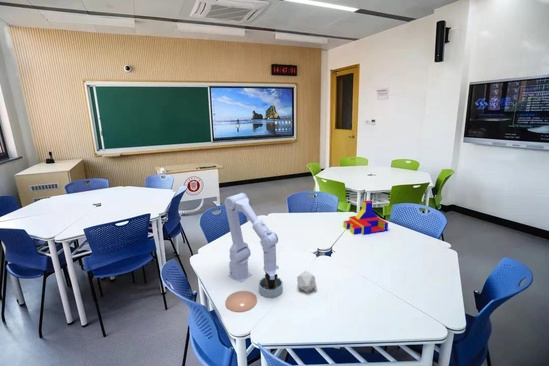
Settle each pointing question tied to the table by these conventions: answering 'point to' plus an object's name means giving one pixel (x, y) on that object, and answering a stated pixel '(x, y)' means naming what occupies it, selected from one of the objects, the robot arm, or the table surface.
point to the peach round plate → (241, 301)
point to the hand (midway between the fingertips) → (270, 284)
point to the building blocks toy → (365, 221)
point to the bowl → (268, 292)
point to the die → (306, 281)
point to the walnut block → (268, 286)
